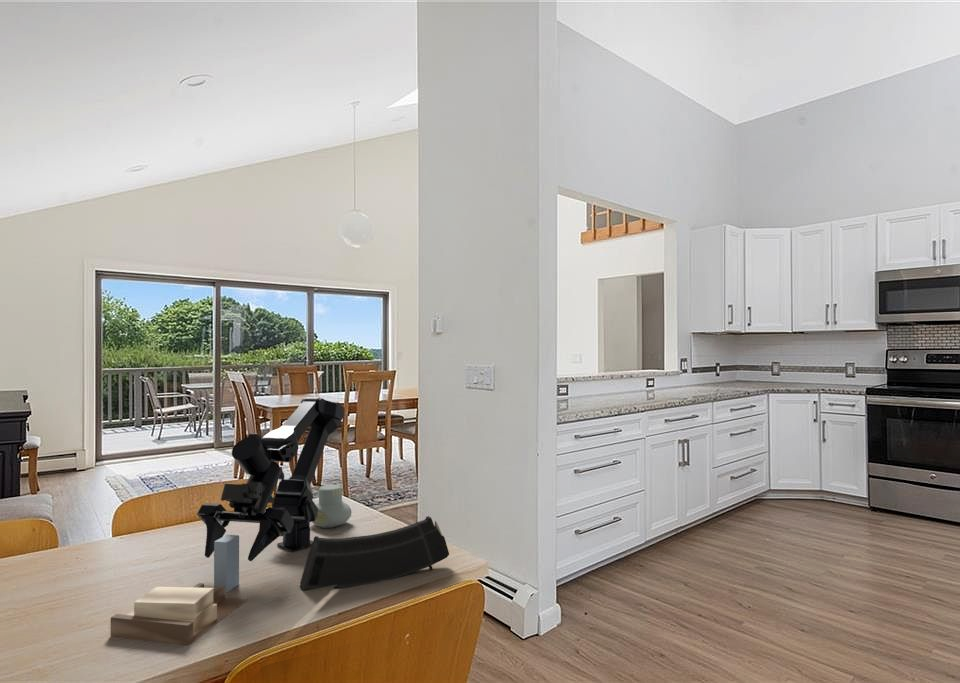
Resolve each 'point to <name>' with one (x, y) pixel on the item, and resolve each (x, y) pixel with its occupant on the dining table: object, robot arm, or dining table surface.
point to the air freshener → (331, 507)
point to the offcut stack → (178, 605)
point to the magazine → (373, 556)
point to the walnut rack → (171, 622)
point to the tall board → (226, 562)
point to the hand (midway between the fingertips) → (227, 558)
